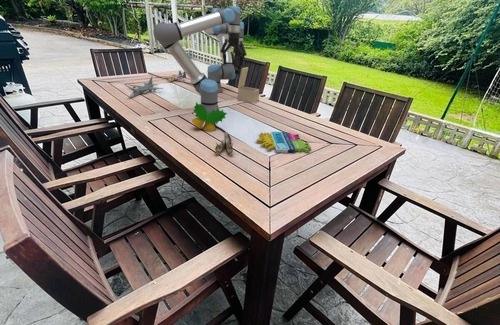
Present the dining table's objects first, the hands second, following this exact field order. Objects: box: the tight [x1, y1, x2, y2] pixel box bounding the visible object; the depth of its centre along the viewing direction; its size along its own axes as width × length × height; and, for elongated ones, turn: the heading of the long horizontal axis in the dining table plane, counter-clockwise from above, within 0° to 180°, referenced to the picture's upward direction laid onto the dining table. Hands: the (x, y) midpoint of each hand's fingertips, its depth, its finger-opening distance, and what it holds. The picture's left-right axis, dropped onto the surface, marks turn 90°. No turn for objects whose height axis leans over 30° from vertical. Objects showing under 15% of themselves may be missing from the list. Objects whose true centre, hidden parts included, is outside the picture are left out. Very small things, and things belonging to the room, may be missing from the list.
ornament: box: [191, 102, 228, 132], centre depth 162 cm, size 21×8×15 cm, turn 105°
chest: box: [237, 86, 260, 104], centre depth 223 cm, size 15×10×10 cm, turn 64°
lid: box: [234, 66, 249, 89], centre depth 220 cm, size 16×10×8 cm
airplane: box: [127, 75, 164, 99], centre depth 224 cm, size 38×31×10 cm
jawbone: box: [214, 131, 234, 156], centre depth 136 cm, size 9×15×10 cm
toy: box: [161, 70, 187, 82], centre depth 276 cm, size 28×7×30 cm
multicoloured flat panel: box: [256, 131, 312, 154], centre depth 152 cm, size 26×2×30 cm
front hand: (232, 64), depth 191 cm, fingers open, 13 cm apart
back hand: (237, 73), depth 220 cm, fingers closed on lid, 2 cm apart
